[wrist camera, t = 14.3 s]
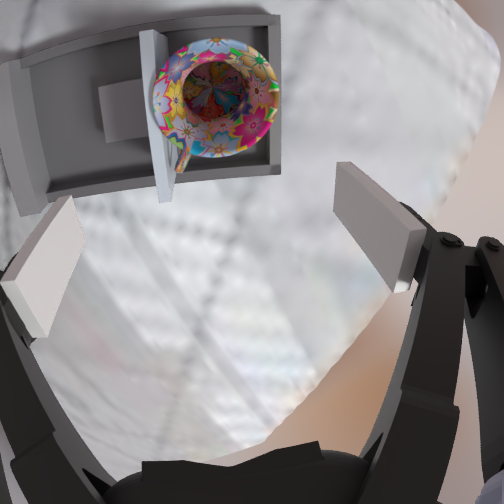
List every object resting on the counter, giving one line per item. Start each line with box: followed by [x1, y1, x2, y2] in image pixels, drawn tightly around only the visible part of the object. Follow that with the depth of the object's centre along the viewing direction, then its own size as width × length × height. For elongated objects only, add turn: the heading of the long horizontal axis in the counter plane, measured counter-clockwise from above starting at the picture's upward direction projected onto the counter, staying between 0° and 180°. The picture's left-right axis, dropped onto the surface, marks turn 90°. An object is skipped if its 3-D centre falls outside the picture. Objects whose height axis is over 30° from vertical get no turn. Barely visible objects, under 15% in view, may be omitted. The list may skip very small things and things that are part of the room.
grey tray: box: [0, 14, 281, 217], centre depth 28 cm, size 30×17×5 cm, turn 91°
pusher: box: [98, 29, 178, 203], centre depth 25 cm, size 7×14×10 cm, turn 1°
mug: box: [152, 38, 279, 173], centre depth 26 cm, size 12×9×11 cm
